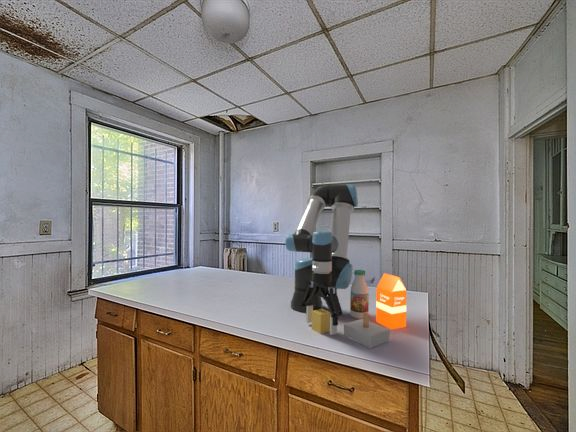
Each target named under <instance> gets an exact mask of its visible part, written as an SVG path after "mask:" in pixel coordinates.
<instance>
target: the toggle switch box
mask: <svg viewBox="0 0 576 432" xmlns="http://www.w3.org/2000/svg"><path fill="white" fill-rule="evenodd" d="M343 336H345V337H347V338H349V339H352V340H353V341H356V342H357V343H359V344H361V345H363V346H366V347H367V348H369V349H371V348H374V347H377V346H380V345H381V344H385V343H387V342H389V341H390V328H388V327H385V326H383V325H382V326H381V325H379V324H376V323H374V322H371V321H370V313H369V312H368V313H364V314H363V319H356V320H353V321H350V322H347V323H346V322H345V323H344V324H343Z"/></svg>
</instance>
